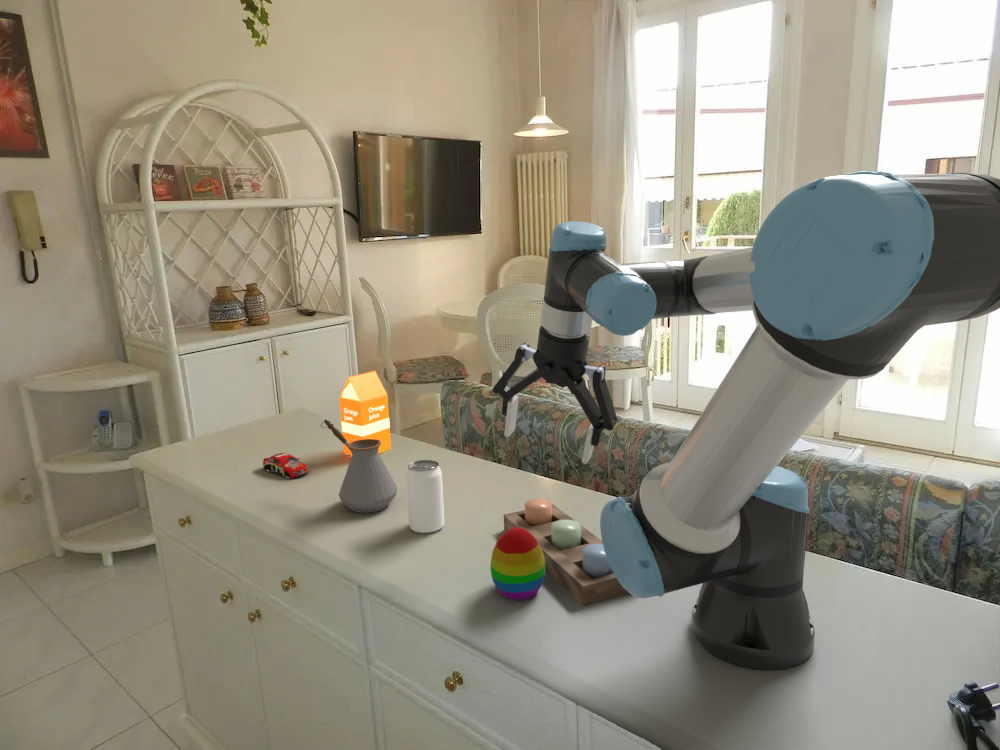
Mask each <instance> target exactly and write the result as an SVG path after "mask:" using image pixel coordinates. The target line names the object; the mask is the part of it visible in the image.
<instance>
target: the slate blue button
mask: <svg viewBox="0 0 1000 750" xmlns="http://www.w3.org/2000/svg"><path fill="white" fill-rule="evenodd" d="M582 567H583V572H585V573H586V574H587V575H588V576H589V577H590V578H592V579H594V578H598V577H602V576H605V575H609V574H613V571H612V569H611V567H610V564H609V562H608V559H607V556H606V553H605V550H604V547H603V544H591V545H587V546H585V547H584V548H583V550H582Z"/></svg>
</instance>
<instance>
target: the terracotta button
mask: <svg viewBox="0 0 1000 750" xmlns="http://www.w3.org/2000/svg"><path fill="white" fill-rule="evenodd" d="M552 504H553V503H552V502H551V501H550V500H548V499H544V498H533V499H529V500H527V501H526V502H525V503H524V510H525V522H527V523H528V524H529V525H530V526H531V527H532V526H537V525H541V524H545V523H550V522H552Z"/></svg>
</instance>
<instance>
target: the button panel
mask: <svg viewBox="0 0 1000 750" xmlns="http://www.w3.org/2000/svg"><path fill="white" fill-rule="evenodd" d="M558 520H573V521H576V519H573V518H572V517H571V516H569V515H568V514H567V513H565V512H564V511H563V510H562V509H560V508H559V507H557V506H556V505H555V504H553V503H552V522H550V523H545V524H541V525H537V526H532V527H531V526H530V525H529V524H528V523H527V522H525V509H524V510H520V511H515V512H510V513H506V514H503V530H504V531H505V532H506V531H507V530H509V529H511V528H515V527H520V528H523V529H525V530H527V531H528V532H530V533H531V534H532V535H533V536H534V537H535V539H536V540H537V541H538V543H539V545H540V547H541V549H542V552H543V555H544V559H545V571H546V572H547V573H549V574H550V576H552V577H553V578H554V579H555V580H556V581H557V582H558V583H559V584H560V585H561V586H562V587H563V588H564V589H565V590H567V591H568V592H569V593H570V594H571V595H572V596H573V597H574V598H575V599H576V600H577V601H578V602H579V603H580V604H581V605H582V606H586V605H589V604H594V603H596V602H600V601H604V600H607V599H611V598H614V597H618V596H620V595H621V596H622V595H626V594H630V593H629V592H628V591H627V590H625V589H624V588H623V587H622V585H621V584H620V583H619V581H618V580H617V578H616V576H615V575H614V573H613V574H609V575H605V576H602V577H598V578H594V579H592V578H590V577H589V576H588V575H587V574H586V573H585V572H583V567H582V550H583V548H584V547H585V546H587V545H591V544H603V542H602V539H601V538H599V537H598V536H596V535H595V534H593V532H591V531H590V530H588V529H587V528H586V527H584V526H583V525H581V545H580V546H576V547H572V548H568V549H564V550H560V551H559V550H558V549H557V548H556V547H554V546H553V545H552V540H551V525H552V523H553V522H555V521H558Z"/></svg>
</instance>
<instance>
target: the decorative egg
mask: <svg viewBox="0 0 1000 750" xmlns="http://www.w3.org/2000/svg"><path fill="white" fill-rule="evenodd" d="M545 573H546V569H545V559H544V555H543V552H542V549H541V547H540V545H539V543H538V541H537V540H536V539H535V537H534V536H533V535H532V534H531V533H530V532H528V531H527V530H525V529H523V528H520V527H515V528H511V529H509V530H507V531H505V532H504V533H502V535H501V536H500V537H498V540H497V541H496V542H495V545H494V548H493V550H492V553H491V557H490V574H491V579H492V582H493V585H494V586H495V588H496V589H497V590H498V592H499V593H500V594H501V595H502V596H503V597H505V598H508V599H510V600H527V599H529V598H532V597H533V596H534V595H536V594H537V592H538V591H539V590H540V588H541V587H542V584H543V582H544V579H545Z"/></svg>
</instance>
